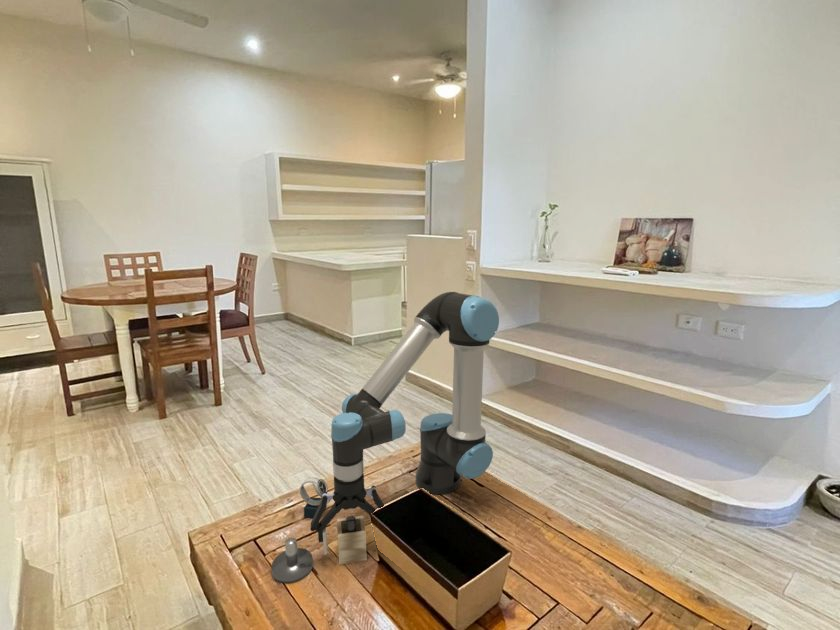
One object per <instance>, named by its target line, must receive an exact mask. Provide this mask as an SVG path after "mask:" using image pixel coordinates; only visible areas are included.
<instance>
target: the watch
mask: <svg viewBox="0 0 840 630" xmlns="http://www.w3.org/2000/svg"><path fill="white" fill-rule="evenodd" d="M308 483H309V484H312V486H313V488H314V491H315V494H316V495H317V496H319V497H314V496H313V497H310V495H309V494H308V492H307V490H306V488H305V486H304V485H306V484H308ZM328 491H329V487H328V484H327V483H326V481H325V480H324V479H323V478H319V477H308V478H306V479H305V480H304V481H303V482H302V484H301V486H300V487H299V495H300V496H301V499H302V500H303V501H304V503H306V504H305V506H304V508H303V514H304V515H303V516H304V519H311V520H312V519H313V517H314V515H315V513H316V511H317V509H318V507H319V505H320V503H321V501H322V493H323V492H327V493H328Z"/></svg>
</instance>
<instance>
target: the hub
mask: <svg viewBox="0 0 840 630" xmlns="http://www.w3.org/2000/svg"><path fill="white" fill-rule="evenodd" d="M313 559H314V558H313V555H312V553H311V552H310V550H309V549H306V548H302V547H298V544H297V538H295V537H289V538H287V539H285V542H284V551H282V552H280V553H279V554H278V555H277V556H275V557H274V559H273V561H272V563H271V565H270V567H271V575H272V578H273V579H274V580H275V581H276V582H278V583H280V584H293V583H296V582H299V581H301V580H303V579H305V578H306V577H307V576H308V575H309V574H310V573H311V572H312V569H313V567H314V560H313Z"/></svg>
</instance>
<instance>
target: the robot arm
mask: <svg viewBox="0 0 840 630" xmlns="http://www.w3.org/2000/svg"><path fill="white" fill-rule="evenodd" d="M497 309H498V308H496V306H495V305H494V304H493V302H492V301H490V300H489V299H487V298H483V297H481V296H479V295H471V294H466V293H461V292H456V291H446V292H443V293H441V294H439V295H437V296H435V297H434V298H432V299H431V300H430V301H429V302H428V303H427V304H425V306H423V308H422V309H421V310H420V311H419V312H418V313H417V315H416V316H415V317H414V318H413V324H412V326H411V327H410V329H408V331H407V332H406V333H405V334H404V336H403V337H402V338H401V340H399V342H398V343H397V344H396V346H395V347H394V348H393V349H392V351H391V352H390V353H389V354H388V356H387V357H386V358H385V359H384V361H383V362H382V363H381V364H380V366H378V368H377V369H376V371H375V372H374V373H373V374H372V375H371V377H370V378H369V380H368V381H366V383H365V384H364V385H363V387H362V388H361V389H360V391H359V392H358V393H352V394H349V395H347V396H346V397H345V398H344V399H343V401H342V404H341V411H342V413H339V414H337V415H336V416H335V417H333V419H332V421H331V433H330V438H331V448H332V466H333V467H332V469H333V470H332V471H333V488H334V492H333V493H328V492H323V493H322V501H321V503H320V505H319V507H318V509H317V511H316V513H315V515H314V517H313V519H311V522H310V531H311V532H315V531H316V532H317V536H318V537H317V538H318V542H319V543H323V555H324V556H326V555H328V542H327V527H328V525H329V524H330V523H331V521H333V519H334V518H335V516H336V515H337V514H339V513H340V512H341V510H342V509H343V510H344V511H347V510H350V509H353V510H354V509H357V508H360V509H361V510H363V511H364V512H366V513H367V514H368V515H369V516H370V517H371V513H373V512H374V511H375V510H377V509H379V508H381V507H383V506H384V505H385V503H384V502H383V501H382V499H381V497H380V495H379V493H378V492H377V487H376V485H372V486H371V488H365V473H364V472H365V471H364V470H365V468H364V451H365V450H368V449H370V448H372V447H375V446H376V447H377V446H381V445H382V444H387V443H390V442H394V441H395V440H398V439H401V438H402V437H404V435H405V433H406V429H407V428H406V427H407V426H406V420H405V417H404V416H403V414H402V412H401V411H400V410H398V409H391V410H388V411H384V410H383V409H381V408H382V406H383V404H384V403H385V402H386V400H388V398H389V397H390V395H391V394H392V393H393V392H394V391H395V389H396V388H397V387H398V386H399V385H400V383H401V382H402V380H403V379H404V378H405V377H406V375H407V374H408V373H409V371H410V370H411V369H412V367H413V366H414V365H415V364H416V362H417V361H418V360H419V359H420V357H421V356H422V355H423V354H424V353H425V351H427V348H428V347H429V346H430V344H432V342H433V341H434V340H437V339H439V338H441V336H442V335H443V334H444V333H445V332H448V342H449V344H450V345H451V346H452V347H453V368H452V369H453V370H452V371H453V373H452V375H453V376H452V410H451V411H452V412H451V414H450V413H444V412H440V413H439V412H438V413H432V414H428V415H426V416H424V417H423V418H422V419H421V421H420V428H419V432H420V433H419V434H420V439H419V440H420V460H419V463H418V467H417V468H416V469H417V470H416V472H415V484H416V486H417V487H418V488H419V489H420V488H424V489H425V490H427V491H429V492H430V493H429V494H431V493H432V495H445V494H449V493H452V492H455V491H456V490H457V489H458V488H460V485H461V483H462V482H461V481H462V477H464V478H465V479H469V480H471V479H473V480H474V479H477V478H479V477H481V476H482V475H483V474H484V473H485V472H486V471H487V470H488V468H489V467H490V465H491V463H492V460H493V457H494V451H493V448H492V447H491V445H490V444H489V443H487V442H486V436H487V435H486V434H487V433H486V429H485V428H484V426H482V425H481V424H482V408H483V407H482V403H483V402H482V401H483V381H484V380H483V379H484V376H483V375H484V356H485V355H484V354H485V353H484V350H485V348H487V346H489V344H490V340H491V339H492V338H494V336H495V335H496V332H497V331H498V330H499V325H500V316H499V312H498V310H497ZM367 496H369V498H370V499H372V500H373V502H374V503H375V505H376V507H377V509H376V508H375V507H374V506H373V505H371V504H370V503H369V502H368V501H367V500H366V497H367ZM331 501H334V502H333V505H331V507H330V508H329V510H328V511H327V512H326V513H325V514H324V512H325V511H326V508H327V505H328V504H329V503H331Z"/></svg>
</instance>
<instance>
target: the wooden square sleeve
mask: <svg viewBox="0 0 840 630" xmlns="http://www.w3.org/2000/svg"><path fill="white" fill-rule="evenodd" d="M354 517H355V520H356V532H351V533H347V529H346V518H347V517H343V518H337V519H336V522H337V523H336V524H337V525H336V527H337V549H338V565H346V564H352V563H359V562H364V561H363V560H365V561H367V560H368V559H367V558H368V557H367V535H366V534H367V533H366V525H365V524H366V523H365V517H364V514H363V515H357V516H354Z"/></svg>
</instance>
